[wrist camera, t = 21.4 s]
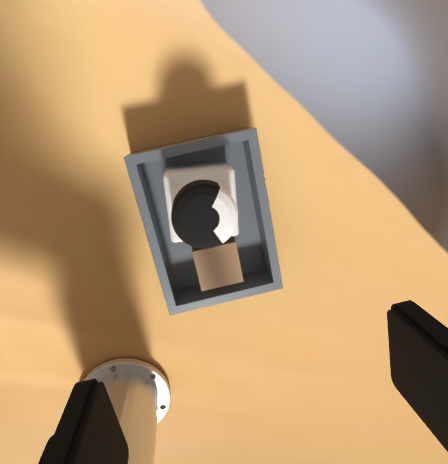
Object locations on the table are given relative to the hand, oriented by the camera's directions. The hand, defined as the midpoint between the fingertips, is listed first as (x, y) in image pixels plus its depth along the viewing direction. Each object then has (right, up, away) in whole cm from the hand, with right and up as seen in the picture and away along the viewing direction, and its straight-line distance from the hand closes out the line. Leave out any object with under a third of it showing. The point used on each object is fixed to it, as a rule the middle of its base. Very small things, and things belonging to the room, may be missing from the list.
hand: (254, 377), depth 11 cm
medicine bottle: (-4, +9, +31) cm, 33 cm away
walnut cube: (-2, +2, +33) cm, 33 cm away
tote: (-3, +7, +33) cm, 33 cm away
